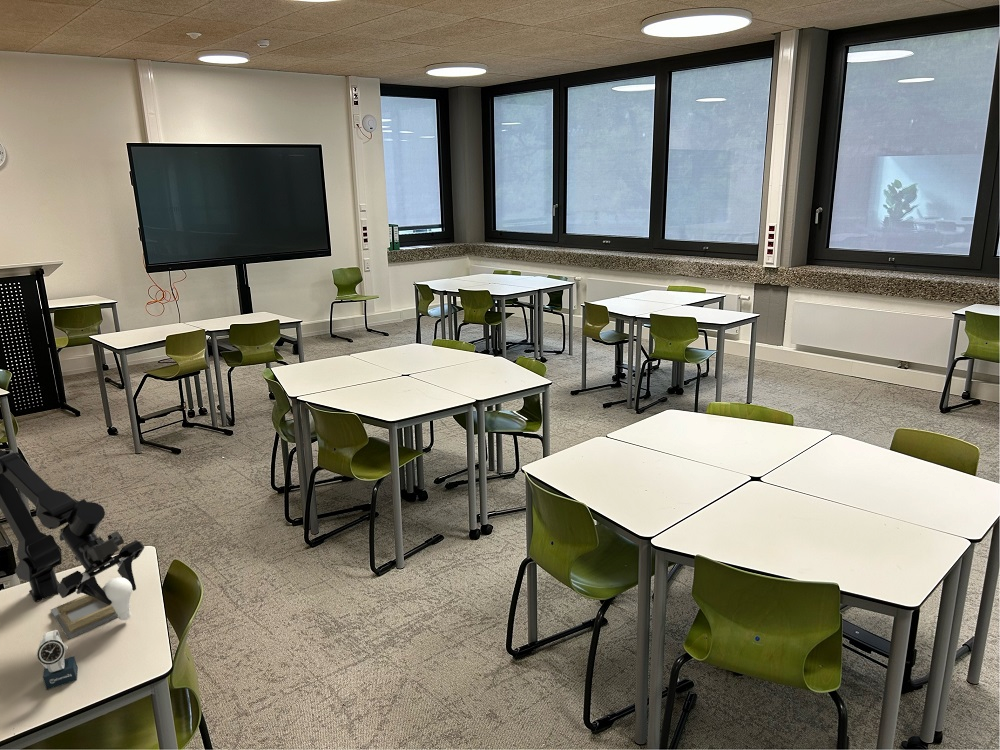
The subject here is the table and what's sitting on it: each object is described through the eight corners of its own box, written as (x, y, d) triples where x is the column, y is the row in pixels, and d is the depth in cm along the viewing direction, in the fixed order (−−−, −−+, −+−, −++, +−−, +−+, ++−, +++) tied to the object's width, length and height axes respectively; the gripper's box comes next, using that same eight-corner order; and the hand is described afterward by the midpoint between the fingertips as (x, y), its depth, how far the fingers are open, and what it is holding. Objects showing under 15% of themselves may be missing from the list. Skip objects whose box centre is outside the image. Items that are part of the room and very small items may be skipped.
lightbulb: (128, 628, 163) (116, 588, 159) (105, 626, 164) (93, 587, 161) (145, 611, 169) (134, 572, 165) (123, 610, 170) (112, 571, 166)
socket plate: (51, 612, 172) (48, 602, 171) (104, 589, 180) (101, 580, 179) (68, 639, 162) (65, 628, 161) (123, 614, 170) (121, 604, 169)
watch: (45, 695, 145) (31, 651, 141) (49, 672, 152) (35, 629, 148) (76, 685, 147) (63, 641, 144) (78, 662, 154) (66, 620, 151)
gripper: (51, 548, 154) (92, 605, 152) (131, 509, 169) (169, 561, 167) (41, 570, 160) (80, 625, 158) (119, 531, 175) (155, 581, 173)
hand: (123, 596), depth 164 cm, fingers closed on lightbulb, 6 cm apart
